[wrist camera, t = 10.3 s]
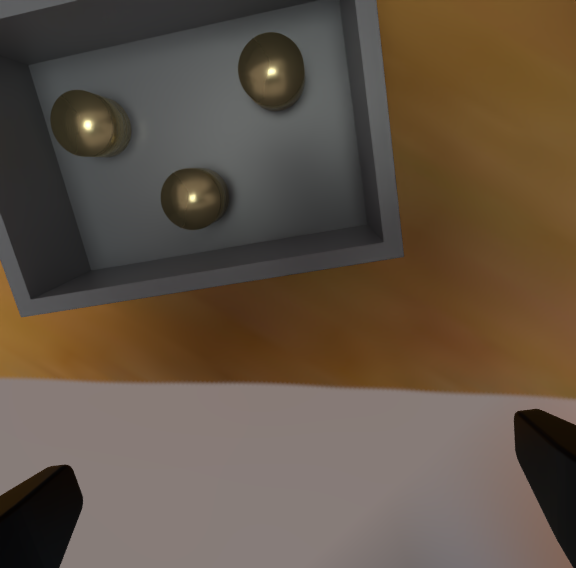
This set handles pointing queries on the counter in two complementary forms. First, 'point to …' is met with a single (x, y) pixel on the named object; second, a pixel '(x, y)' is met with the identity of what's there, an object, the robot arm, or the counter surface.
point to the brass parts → (191, 181)
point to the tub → (189, 148)
